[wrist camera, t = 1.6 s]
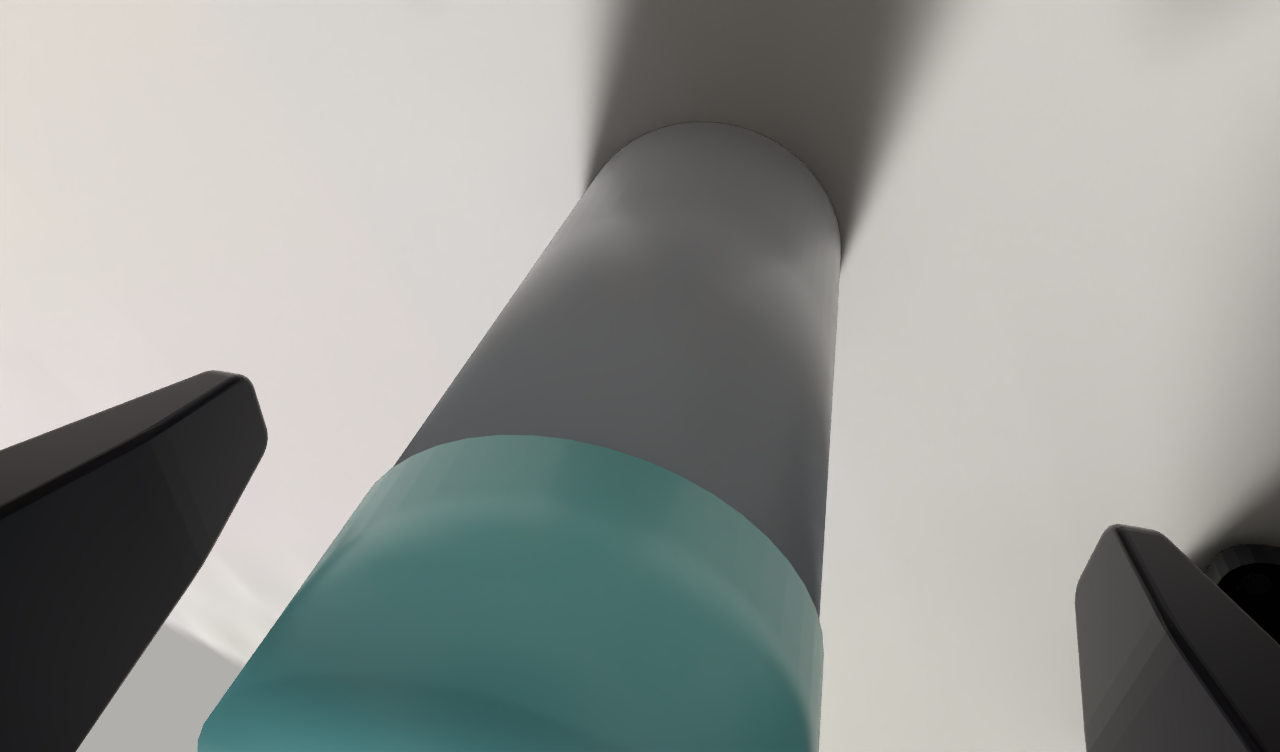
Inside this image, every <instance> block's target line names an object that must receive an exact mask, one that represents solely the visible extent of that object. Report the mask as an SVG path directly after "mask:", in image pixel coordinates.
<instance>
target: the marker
mask: <svg viewBox="0 0 1280 752" xmlns="http://www.w3.org/2000/svg"><path fill="white" fill-rule="evenodd" d="M840 260H841V243H840V233H839V228H838V222H837V219H836V216H835V213H834V210H833V207H832V204H831V202H830V200H829V198H828V196H827V194H826V192H825V190H824V189H823V187H822V186H821V184H820V183H819V181H818V180H817V179H816V177H815V176H814V174H813V173H812V172H811V171H810V170H809V169H808V168H807V167H806V166H805V165H804V163H803V162H802V161H801V160H799V159H798V158H797V157H796V156H795V155H793V154H792V153H791V152H790V151H789V150H787V149H786V148H784V147H783V146H781V145H779V144H778V143H776V142H775V141H773V140H771V139H769V138H767V137H765V136H763V135H761V134H758V133H756V132H754V131H751V130H748V129H745V128H741V127H738V126H734V125H728V124H723V123H717V122H691V123H680V124H675V125H671V126H667V127H663V128H660V129H657V130H654V131H652V132H649V133H647V134H644V135H643V136H641V137H639V138H637V139H635V140H634V141H632V142H630V143H629V144H627V145H626V146H625V147H623V148H622V149H621V150H619V151H618V152H617V153H616V154H615V155H614V156H613V157H612V158H611V159H610V160H609V161H608V162H607V163H606V164H605V165H604V166H603V168H602V169H601V171H600V172H599V173H598V175H597V176H596V177H595V179H594V180H593V182H592V183H591V185H590V186H589V187H588V189H587V190H586V192H585V193H584V195H583V196H582V197H581V199H580V200H579V202H578V203H577V205H576V206H575V207H574V209H573V210H572V212H571V213H570V215H569V216H568V217H567V219H566V220H565V222H564V223H563V225H562V226H561V227H560V229H559V230H558V232H557V233H556V235H555V236H554V238H553V239H552V240H551V242H550V243H549V245H548V246H547V248H546V249H545V250H544V252H543V253H542V255H541V256H540V258H539V259H538V260H537V262H536V263H535V265H534V266H533V268H532V269H531V270H530V272H529V273H528V275H527V276H526V278H525V279H524V280H523V282H522V283H521V285H520V286H519V288H518V289H517V291H516V292H515V293H514V295H513V296H512V298H511V299H510V301H509V302H508V303H507V305H506V306H505V308H504V309H503V311H502V312H501V313H500V315H499V316H498V318H497V319H496V321H495V322H494V323H493V325H492V326H491V328H490V329H489V331H488V332H487V333H486V335H485V336H484V338H483V339H482V341H481V342H480V343H479V345H478V346H477V348H476V349H475V351H474V352H473V354H472V355H471V356H470V358H469V359H468V361H467V362H466V364H465V365H464V366H463V368H462V369H461V371H460V372H459V374H458V375H457V376H456V378H455V379H454V381H453V382H452V384H451V385H450V386H449V388H448V389H447V391H446V392H445V394H444V395H443V396H442V398H441V399H440V401H439V402H438V404H437V405H436V407H435V408H434V409H433V411H432V412H431V414H430V415H429V417H428V418H427V419H426V421H425V422H424V424H423V425H422V427H421V428H420V429H419V431H418V432H417V434H416V435H415V437H414V438H413V439H412V441H411V442H410V444H409V445H408V447H407V448H406V449H405V451H404V452H403V454H402V455H401V457H400V458H399V460H398V461H397V462H396V464H395V465H394V467H393V468H391V469H390V470H389V471H388V472H387V473H386V474H385V475H384V476H382V477H381V478H380V479H379V480H378V481H377V482H376V483H375V484H374V485H373V487H372V488H371V489H370V491H369V492H368V493H367V495H366V496H365V497H364V499H363V500H362V502H361V503H360V504H359V506H358V507H357V509H356V510H355V511H354V513H353V514H352V516H351V517H350V518H349V520H348V521H347V523H346V524H345V525H344V527H343V528H342V530H341V531H340V533H339V534H338V535H337V537H336V538H335V540H334V541H333V542H332V544H331V545H330V547H329V548H328V549H327V551H326V552H325V554H324V555H323V557H322V558H321V559H320V561H319V562H318V564H317V565H316V566H315V568H314V569H313V571H312V572H311V573H310V575H309V576H308V578H307V579H306V580H305V582H304V583H303V585H302V586H301V588H300V589H299V590H298V592H297V593H296V595H295V596H294V597H293V599H292V600H291V602H290V603H289V604H288V606H287V607H286V609H285V610H284V612H283V613H282V614H281V616H280V617H279V619H278V620H277V621H276V623H275V624H274V626H273V627H272V628H271V630H270V631H269V633H268V634H267V636H266V637H265V638H264V640H263V641H262V643H261V644H260V645H259V647H258V648H257V650H256V651H255V652H254V654H253V655H252V657H251V658H250V659H249V661H248V662H247V664H246V665H245V667H244V668H243V669H242V671H241V672H240V674H239V675H238V676H237V678H236V679H235V681H234V682H233V684H232V685H231V686H230V688H229V689H228V691H227V692H226V693H225V695H224V696H223V698H222V699H221V700H220V702H219V704H218V705H217V706H216V707H215V709H214V710H213V712H212V713H211V714H210V716H209V718H208V719H207V720H206V722H205V723H204V725H203V728H202V731H201V734H200V736H199V739H198V752H819V736H820V717H821V697H822V678H823V658H824V652H823V636H822V630H821V626H820V622H819V615H820V598H821V581H822V564H823V547H824V530H825V514H826V497H827V480H828V463H829V446H830V429H831V412H832V395H833V378H834V361H835V344H836V327H837V310H838V293H839V277H840Z"/></svg>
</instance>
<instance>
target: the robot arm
mask: <svg viewBox="0 0 1280 752" xmlns="http://www.w3.org/2000/svg"><path fill="white" fill-rule="evenodd" d="M267 440H268V433H267V428H266V425H265V422H264V418H263V415H262V412H261V409H260V405H259V402H258V399H257V396H256V392H255V389H254V386H253V384H252V383H251V381H250V380H249V379H248V378H247V377H245V376H243V375H240V374H235V373H229V372H223V371H214V370H212V371H206V372H203V373H201V374H198V375H196V376H193V377H190V378H188V379H185V380H183V381H180V382H177V383H175V384H172V385H169V386H167V387H164V388H162V389H159V390H156V391H154V392H151V393H149V394H146V395H143V396H141V397H138V398H136V399H133V400H130V401H128V402H125V403H123V404H120V405H117V406H115V407H112V408H110V409H107V410H104V411H102V412H99V413H97V414H94V415H91V416H89V417H86V418H84V419H81V420H78V421H76V422H73V423H70V424H68V425H65V426H63V427H60V428H57V429H55V430H52V431H50V432H47V433H44V434H42V435H39V436H37V437H34V438H31V439H29V440H26V441H24V442H21V443H18V444H16V445H13V446H11V447H8V448H5V449H3V450H0V752H76V750H77V749H78V748H79V746H80V744H81V743H82V742H83V740H84V739H85V737H86V736H87V734H88V733H89V731H90V730H91V729H92V727H93V726H94V724H95V723H96V721H97V720H98V718H99V717H100V715H101V714H102V712H103V711H104V710H105V708H106V707H107V705H108V704H109V702H110V701H111V699H112V698H113V696H114V695H115V693H116V692H117V690H118V689H119V688H120V686H121V685H122V683H123V682H124V680H125V679H126V677H127V676H128V674H129V673H130V671H131V670H132V669H133V667H134V666H135V664H136V663H137V661H138V660H139V658H140V657H141V655H142V654H143V652H144V651H145V650H146V648H147V647H148V645H149V644H150V642H151V641H152V639H153V638H154V636H155V635H156V634H157V632H158V631H159V629H160V628H161V626H162V625H163V623H164V622H165V620H166V619H167V617H168V616H169V615H170V613H171V612H172V610H173V609H174V607H175V606H176V604H177V603H178V601H179V600H180V598H181V597H182V596H183V594H184V593H185V591H186V590H187V588H188V587H189V585H190V584H191V582H192V581H193V579H194V578H195V576H196V575H197V573H198V572H199V570H200V568H201V567H202V565H203V564H204V562H205V560H206V558H207V557H208V555H209V553H210V552H211V550H212V548H213V546H214V545H215V543H216V541H217V539H218V537H219V535H220V534H221V532H222V530H223V528H224V526H225V524H226V523H227V521H228V519H229V517H230V515H231V513H232V512H233V510H234V508H235V506H236V504H237V502H238V501H239V499H240V497H241V495H242V493H243V491H244V489H245V488H246V486H247V484H248V482H249V480H250V478H251V477H252V475H253V473H254V471H255V469H256V467H257V466H258V464H259V462H260V460H261V458H262V456H263V454H264V452H265V449H266V446H267ZM1250 574H1255V575H1252V576H1247V575H1250ZM1075 611H1076V625H1077V638H1078V652H1079V665H1080V679H1081V692H1082V706H1083V719H1084V732H1085V742H1086V751H1087V752H1280V548H1279V547H1273V546H1267V545H1261V544H1244V545H1239V546H1234V547H1231V548H1229V549H1227V550H1225V551H1223V552H1221V553H1220V554H1219V555H1217V556H1216V557H1215V558H1214V559H1213V561H1212V562H1211V564H1210V565H1209V567H1208V568H1207V570H1206V571H1205V573H1204V572H1203V571H1201V570H1200V569H1199V568H1198V567H1197V566H1196V565H1195V564H1194V563H1193V562H1192V561H1191V560H1190V559H1189V558H1188V557H1187V556H1186V555H1185V554H1184V553H1183V552H1182V551H1180V550H1179V549H1178V548H1177V547H1176V546H1175V545H1174V544H1173V543H1172V542H1171V541H1170V540H1169V539H1168V538H1167V537H1165V536H1164V535H1163V534H1162V533H1160V532H1158V531H1155V530H1151V529H1145V528H1140V527H1134V526H1128V525H1122V524H1115V525H1111V526H1109V527H1108V528H1107V529H1106V530H1105V531H1104V533H1103V534H1102V536H1101V538H1100V540H1099V542H1098V544H1097V546H1096V548H1095V550H1094V552H1093V553H1092V555H1091V557H1090V559H1089V561H1088V563H1087V565H1086V567H1085V569H1084V571H1083V573H1082V575H1081V577H1080V579H1079V581H1078V585H1077V588H1076V594H1075Z"/></svg>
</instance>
